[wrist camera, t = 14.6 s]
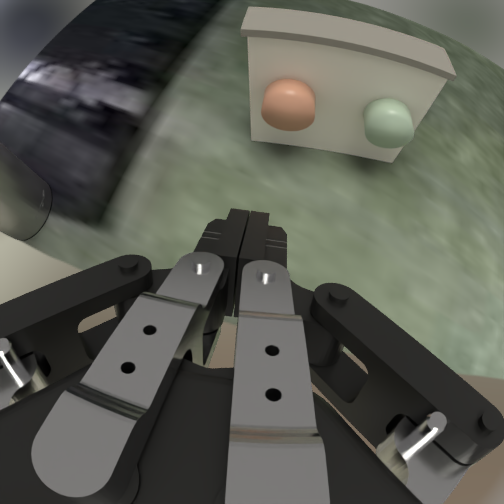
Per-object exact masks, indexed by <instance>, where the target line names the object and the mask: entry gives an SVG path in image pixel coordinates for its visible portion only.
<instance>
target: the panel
mask: <svg viewBox="0 0 504 504" xmlns="http://www.w3.org/2000/svg"><path fill="white" fill-rule="evenodd" d="M241 36H243V37H248V62H249V89H250V117H251V141H260V142H269V143H277V144H285V145H293V146H300V147H307V148H314V149H320V150H326V151H332V152H338V153H344V154H349V155H354V156H360V157H365V158H370V159H375V160H379V161H384V162H388V163H392V162H393V161H394V160H395V158H396V157H397V155H398V154H399V152H400V151H401V150H402V148H403V147H404V146H402V147H399V148H392V149H388V148H381V147H378V146H375V145H373V144H372V143H370V142H369V141H368V140H367V138H366V136H365V128H364V116H363V113H364V109H365V107H366V106H367V105H368V104H369V103H371V102H373V101H375V100H378V99H385V98H388V99H395V100H398V101H400V102H402V103H404V104H405V105H406V106H407V107H408V108H409V110H410V113H411V118H412V123H413V129H414V131H415V129H416V128H417V126H418V125H419V123H420V122H421V120H422V119H423V117H424V116H425V114H426V112H427V111H428V109H429V108H430V106H431V105H432V103H433V102H434V100H435V99H436V97H437V95H438V94H439V92H440V91H441V89H442V88H443V86H444V84H445V83H446V81H447V80H451V81H454V79H455V78H456V76H457V75H456V73H455V71H454V68H453V66H452V64H451V62H450V60H449V57H448V55H447V53H446V51H445V49H444V48H442V47H440V46H437V45H434V44H432V43H429V42H426V41H424V40H421V39H418V38H415V37H412V36H409V35H406V34H403V33H400V32H397V31H393V30H390V29H387V28H383V27H379V26H376V25H372V24H368V23H364V22H360V21H355V20H351V19H346V18H341V17H336V16H331V15H325V14H319V13H312V12H305V11H297V10H288V9H278V8H265V7H248V10H247V13H246V16H245V18H244V21H243V24H242V27H241ZM281 79H293V80H298V81H301V82H303V83H305V84H307V85H308V86H309V87H310V88H311V89H312V90H313V91H314V94H315V119H314V122H313V123H312V124H311V125H310V126H309V127H307V128H305V129H303V130H299V131H283V130H279V129H276V128H274V127H272V126H270V125H269V124H267V123H266V122H265V121H264V119H263V118H262V115H261V109H262V103H263V97H264V92H265V89H266V87H267V86H268V85H269V84H271V83H272V82H274V81H277V80H281Z"/></svg>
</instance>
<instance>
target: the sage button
mask: <svg viewBox="0 0 504 504" xmlns="http://www.w3.org/2000/svg"><path fill="white" fill-rule="evenodd" d="M363 116H364V128H365V136H366V138H367V140H368V141H369V142H370V143H372V144H373V145H375V146H378V147H381V148H388V149H392V148H399V147H402V146H405V145H407V144H408V143H409V142H411V140H412V139H413V137H414V129H413V123H412V118H411V113H410V110H409V108H408V107H407V106H406V105H405V104H404V103H402V102H400V101H398V100H395V99H388V98H385V99H378V100H375V101H373V102H371V103H369V104H368V105H367V106H366V107H365V109H364V113H363Z"/></svg>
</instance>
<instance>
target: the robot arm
mask: <svg viewBox="0 0 504 504" xmlns="http://www.w3.org/2000/svg"><path fill="white" fill-rule="evenodd" d="M51 201H52V194H51V189H50V187H49V185H48V184H47V183H46V182H45V181H44V180H43V179H41V178H40V177H39V176H38V175H37V174H36V173H34V172H33V171H32V170H31V169H30V168H29V167H28V166H27V165H25V164H24V163H23V162H22V161H21V160H20V159H19V158H18V157H16V156H15V155H14V154H13V153H12V152H11V151H10V150H9V149H7V148H6V147H5V146H4V145H3V144H2V143H1V142H0V231H1V232H3V233H5V234H7V235H9V236H11V237H13V238H15V239H17V240H26V239H28V238H30V237H32V236H33V235H34V234H36V233H37V232H38V231H39V229H40V228H41V227H42V225H43V224H44V222H45V220H46V218H47V216H48V214H49V211H50V207H51ZM249 215H250V217H249ZM268 221H269V213H264V212H256V211H251V213H250V211H248V210H240V209H232V208H231V210H230V212H229V214H228V217H227V219H226V220H222V219H215V220H213V221H212V222H210V223H208V225H207V227H206V228H205V230H204V232H203V234H202V237H201V238H200V240H199V242H198V244H197V246H196V248H195V250H194V252H192V253H189V254H186V255H184V256H182V257H181V258H180V259H179V261H178V262H177V263H176V265H175V266H174V268H171V269H159V270H152V267H151V262H150V261H149V260H148V259H147V258H145V257H143V256H140V255H124V256H120V257H117V258H115V259H112V260H109V261H107V262H104V263H102V264H99V265H96V266H94V267H91V268H89V269H86V270H83V271H81V272H78V273H76V274H73V275H71V276H68V277H66V278H63V279H61V280H58V281H56V282H54V283H51V284H48V285H46V286H44V287H41V288H39V289H36V290H34V291H31V292H29V293H26V294H24V295H22V296H20V297H17V298H15V299H12V300H10V301H8V302H5V303H3V304H1V305H0V504H443V503H444V502H445V500H446V499H447V498H448V496H449V495H450V494H451V493H452V491H453V490H454V489H455V487H456V486H457V484H458V483H459V482H460V480H461V479H462V477H463V476H464V474H465V473H466V471H467V470H468V468H469V467H471V466H472V465H474V464H475V463H476V462H478V461H479V460H481V459H482V458H483V457H485V456H486V455H487V454H489V453H490V452H491V451H492V450H494V449H495V448H496V447H497V446H499V445H500V444H501V443H502V441H503V439H504V418H503V416H502V414H501V413H500V412H499V410H498V409H497V408H496V407H495V406H494V405H492V404H491V403H490V402H489V401H488V400H487V399H486V398H484V397H483V396H482V395H481V394H480V393H479V392H477V391H476V390H475V389H474V388H473V387H472V386H470V385H469V384H468V383H467V382H466V381H464V380H463V379H462V378H461V377H460V376H459V375H457V374H456V373H455V372H454V371H453V370H452V369H450V368H449V367H448V366H447V365H446V364H444V363H443V362H442V361H441V360H440V359H438V358H437V357H436V356H435V355H434V354H432V353H431V352H430V351H429V350H427V349H426V348H425V347H424V346H423V345H421V344H420V343H419V342H418V341H416V340H415V339H414V338H413V337H412V336H410V335H409V334H408V333H407V332H405V331H404V330H403V329H402V328H400V327H399V326H398V325H397V324H395V323H394V322H393V321H392V320H390V319H389V318H388V317H387V316H385V315H384V314H383V313H382V312H380V311H379V310H378V309H377V308H375V307H374V306H373V305H371V304H370V303H369V302H368V301H366V300H365V299H364V298H363V297H361V296H360V295H359V294H357V293H356V292H355V291H354V290H352V289H351V288H349V287H347V286H344V285H341V284H337V283H325V284H322V285H320V286H318V287H317V288H316V289H315V291H314V292H313V291H310V290H307V289H305V288H302V287H300V286H298V285H297V284H295V283H294V282H293V281H292V280H291V279H290V275H289V272H288V270H287V234H286V233H285V231H284V230H283V229H282V227H276V226H269V225H268ZM234 304H235V308H234ZM113 305H114V308H115V312H116V316H117V317H115V318H113V319H111V320H109V321H106V322H104V323H102V324H100V325H98V326H95V327H93V328H91V329H89V330H87V331H84V332H82V333H78V325H79V323H80V322H81V321H82V320H83V319H85V318H86V317H89V316H91V315H93V314H95V313H98V312H100V311H102V310H104V309H107V308H109V307H111V306H113ZM233 309H234V317H238V322H237V333H236V344H235V355H234V367H233V368H217V369H216V368H215V369H211V368H208V366H209V363H210V360H211V358H212V355H213V352H214V349H215V346H216V344H217V341H218V338H219V335H220V332H221V325H222V323H223V319H224V315H225V316H232V313H233ZM344 346H345V347H346V348H347V349H348V350H349V351H350V352H352V353H353V354H354V355H355V356H356V357H357V358H358V359H359V360H360V361H361V362H362V363H363V364H364V365H365V366H366V368H367V370H368V374H367V373H366V372H365V371H363V370H362V369H361V368H360V367H359V366H358V365H357V364H356V363H355V362H354V361H353V360H352V359H351V358H350V357H348V356H347V355H346V354H345V353H344V352H343V351H342V350H343V348H344ZM311 382H312V383H313V384H314V385H315V386H316V387H317V388H318V390H320V392H321V393H322V394H323V395H324V396H325V397H326V398H327V399H328V400H329V401H330V402H331V403H332V404H333V405H334V406H335V407H336V408H337V409H338V411H339V412H340V413H341V414H342V415H343V416H344V417H345V418H346V419H347V420H348V421H349V422H350V423H351V424H352V425H353V426H354V427H355V428H356V429H357V430H358V431H359V432H360V433H361V434H362V435H363V436H364V437H365V438H366V439H367V440H368V441H369V442H370V443H371V444H372V445H373V446H374V447H375V448H376V449H377V450H376V454H375V453H374V452H373V451H372V450H371V449H370V448H369V447H368V446H367V445H366V444H365V442H364V441H363V440H362V439H361V438H360V437H359V436H358V435H357V434H356V433H355V432H354V431H353V429H352V428H351V427H350V426H349V425H348V424H347V423H346V422H345V421H344V419H343V418H342V417H341V416H340V415H339V414H338V413H337V412H336V410H335V409H334V408H333V407H332V406H331V405H330V404H329V403H328V402H326V401H325V400H324V399H323V398H322V397H320V396H319V395H317V394H316V393H314V392H312V386H311Z"/></svg>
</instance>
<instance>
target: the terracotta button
mask: <svg viewBox="0 0 504 504" xmlns="http://www.w3.org/2000/svg"><path fill="white" fill-rule="evenodd" d="M261 115H262V118H263V119H264V121H265V122H266V123H267V124H269V125H270V126H272V127H274V128H276V129H279V130H283V131H299V130H303V129H305V128H307V127H309V126H310V125H311V124H312V123H313V122H314V119H315V94H314V91H313V90H312V89H311V88H310V87H309V86H308V85H307V84H305V83H303V82H301V81H298V80H293V79H281V80H277V81H274V82H272V83H271V84H269V85H268V86H267V87H266V89H265V92H264V97H263V103H262V109H261Z"/></svg>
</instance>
